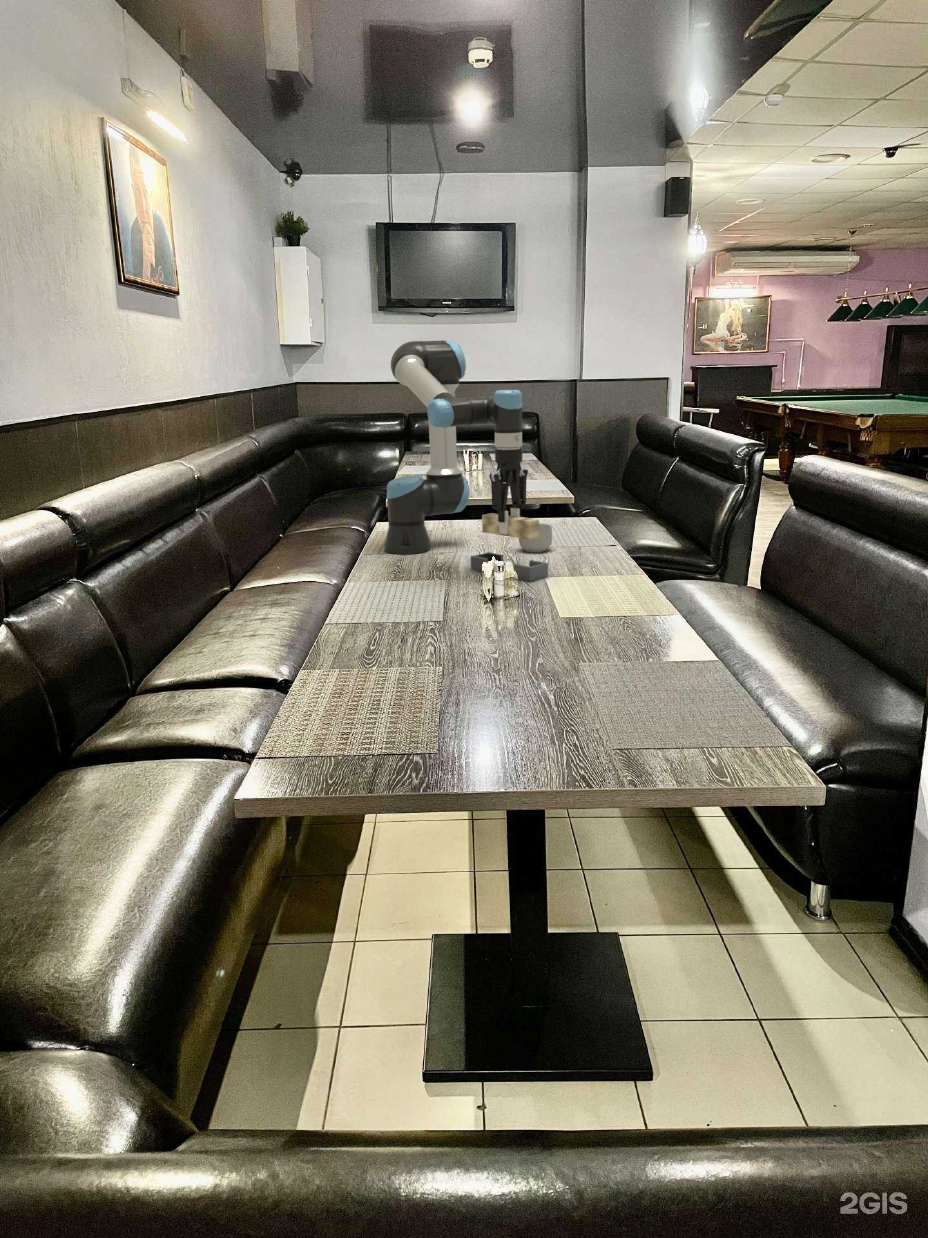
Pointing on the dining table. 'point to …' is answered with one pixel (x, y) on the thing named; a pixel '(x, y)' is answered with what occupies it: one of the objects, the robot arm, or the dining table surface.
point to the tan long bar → (512, 526)
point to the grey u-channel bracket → (483, 560)
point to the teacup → (538, 540)
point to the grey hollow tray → (532, 571)
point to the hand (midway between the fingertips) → (509, 532)
